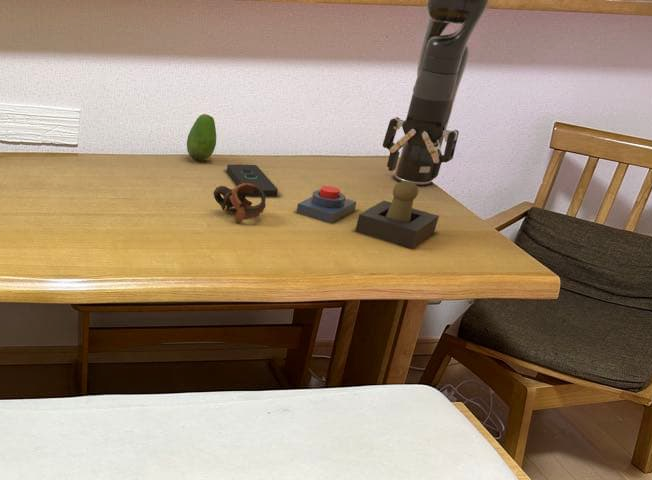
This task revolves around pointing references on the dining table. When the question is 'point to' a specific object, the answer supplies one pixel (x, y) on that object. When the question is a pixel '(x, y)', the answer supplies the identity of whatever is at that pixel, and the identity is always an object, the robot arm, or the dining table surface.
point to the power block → (326, 207)
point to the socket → (396, 225)
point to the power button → (329, 192)
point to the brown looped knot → (240, 200)
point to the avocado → (202, 138)
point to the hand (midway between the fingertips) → (410, 174)
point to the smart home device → (252, 179)
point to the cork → (402, 201)
